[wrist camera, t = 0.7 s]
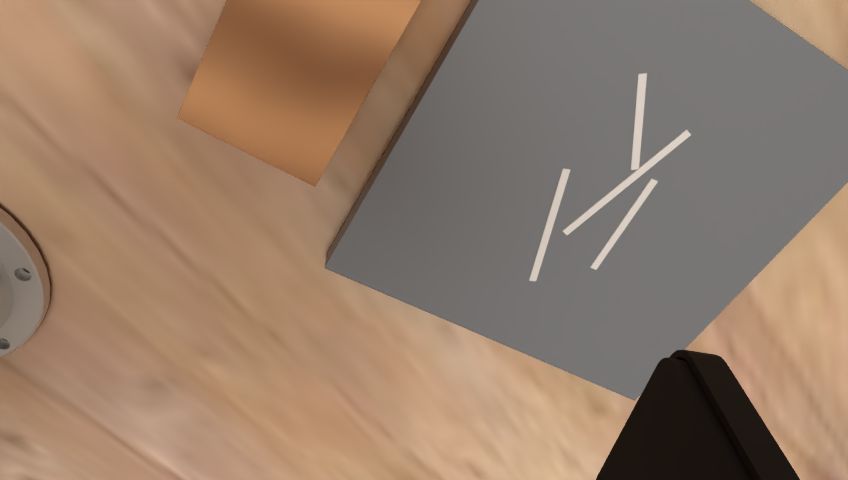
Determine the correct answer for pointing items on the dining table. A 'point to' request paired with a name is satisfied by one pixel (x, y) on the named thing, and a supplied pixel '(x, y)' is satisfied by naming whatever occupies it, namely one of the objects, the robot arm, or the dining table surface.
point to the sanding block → (292, 76)
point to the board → (600, 176)
